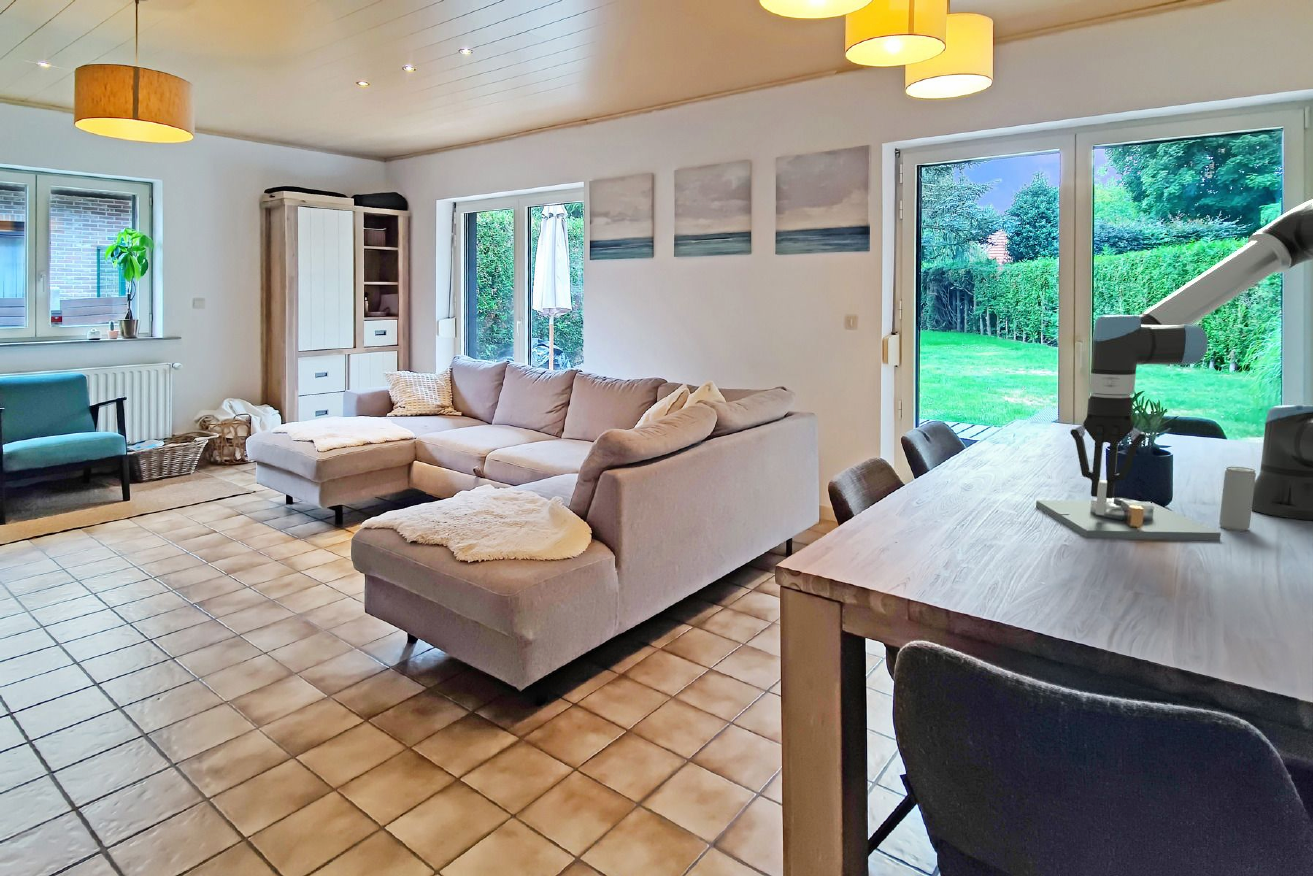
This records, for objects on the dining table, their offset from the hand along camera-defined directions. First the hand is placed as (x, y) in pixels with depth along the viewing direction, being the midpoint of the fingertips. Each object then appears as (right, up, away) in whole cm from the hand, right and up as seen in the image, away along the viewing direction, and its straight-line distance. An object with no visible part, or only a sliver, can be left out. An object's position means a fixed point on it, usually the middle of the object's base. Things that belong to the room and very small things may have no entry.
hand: (1100, 513), depth 150 cm
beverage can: (+26, -3, 0) cm, 27 cm away
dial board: (+7, -2, +5) cm, 8 cm away
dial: (+6, -1, +2) cm, 7 cm away
